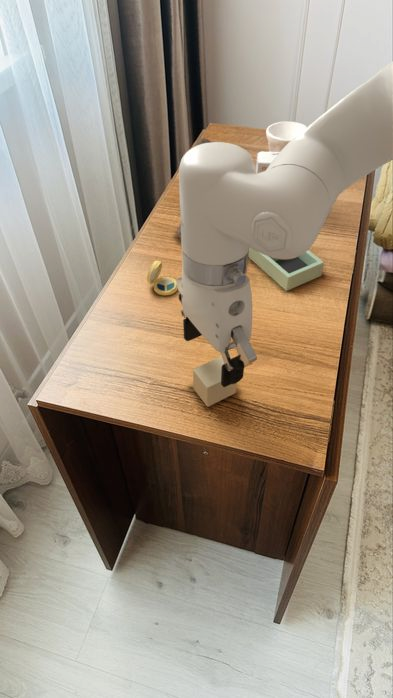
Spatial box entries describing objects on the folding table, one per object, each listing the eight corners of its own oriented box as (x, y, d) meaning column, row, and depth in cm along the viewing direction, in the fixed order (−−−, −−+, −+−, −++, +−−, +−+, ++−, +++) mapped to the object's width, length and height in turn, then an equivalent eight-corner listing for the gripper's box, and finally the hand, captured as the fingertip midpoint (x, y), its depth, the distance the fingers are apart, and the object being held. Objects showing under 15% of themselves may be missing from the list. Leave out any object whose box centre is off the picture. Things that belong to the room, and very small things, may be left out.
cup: (257, 162, 122) (260, 124, 115) (295, 156, 123) (300, 118, 116) (271, 182, 115) (275, 142, 108) (311, 176, 117) (318, 136, 110)
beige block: (236, 392, 74) (237, 373, 70) (207, 407, 72) (207, 388, 69) (221, 375, 76) (222, 355, 73) (193, 388, 74) (192, 369, 71)
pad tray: (271, 235, 101) (272, 221, 99) (321, 275, 92) (324, 262, 89) (238, 247, 98) (238, 234, 96) (286, 291, 89) (288, 277, 87)
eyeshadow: (170, 298, 88) (168, 276, 85) (146, 290, 90) (143, 268, 86) (182, 283, 91) (181, 261, 87) (158, 276, 93) (156, 254, 89)
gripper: (288, 290, 53) (271, 389, 65) (203, 212, 63) (203, 311, 75) (229, 315, 50) (223, 414, 63) (150, 230, 60) (159, 330, 73)
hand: (212, 358), depth 69 cm, fingers open, 9 cm apart
